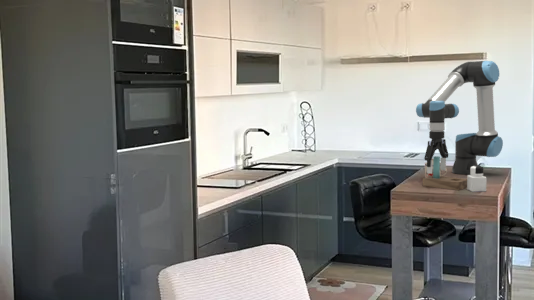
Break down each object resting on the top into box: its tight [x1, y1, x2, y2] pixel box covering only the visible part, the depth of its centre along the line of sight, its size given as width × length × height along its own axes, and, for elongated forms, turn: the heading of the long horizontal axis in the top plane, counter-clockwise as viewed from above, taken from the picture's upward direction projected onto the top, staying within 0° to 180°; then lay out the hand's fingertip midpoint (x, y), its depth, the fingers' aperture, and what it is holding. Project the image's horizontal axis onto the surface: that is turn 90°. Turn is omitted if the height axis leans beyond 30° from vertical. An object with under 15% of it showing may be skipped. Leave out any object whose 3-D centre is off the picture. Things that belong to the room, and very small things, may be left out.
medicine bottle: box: [466, 165, 487, 193], centre depth 307 cm, size 7×7×12 cm
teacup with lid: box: [424, 158, 448, 178], centre depth 341 cm, size 12×9×12 cm
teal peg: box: [432, 155, 441, 179], centre depth 323 cm, size 3×3×15 cm
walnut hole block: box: [422, 176, 467, 191], centre depth 320 cm, size 12×20×4 cm, turn 45°
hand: (436, 171), depth 323 cm, fingers open, 13 cm apart
